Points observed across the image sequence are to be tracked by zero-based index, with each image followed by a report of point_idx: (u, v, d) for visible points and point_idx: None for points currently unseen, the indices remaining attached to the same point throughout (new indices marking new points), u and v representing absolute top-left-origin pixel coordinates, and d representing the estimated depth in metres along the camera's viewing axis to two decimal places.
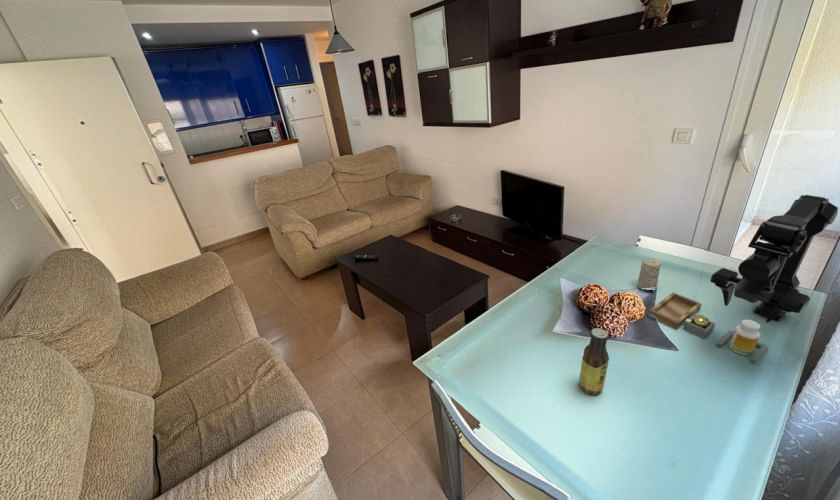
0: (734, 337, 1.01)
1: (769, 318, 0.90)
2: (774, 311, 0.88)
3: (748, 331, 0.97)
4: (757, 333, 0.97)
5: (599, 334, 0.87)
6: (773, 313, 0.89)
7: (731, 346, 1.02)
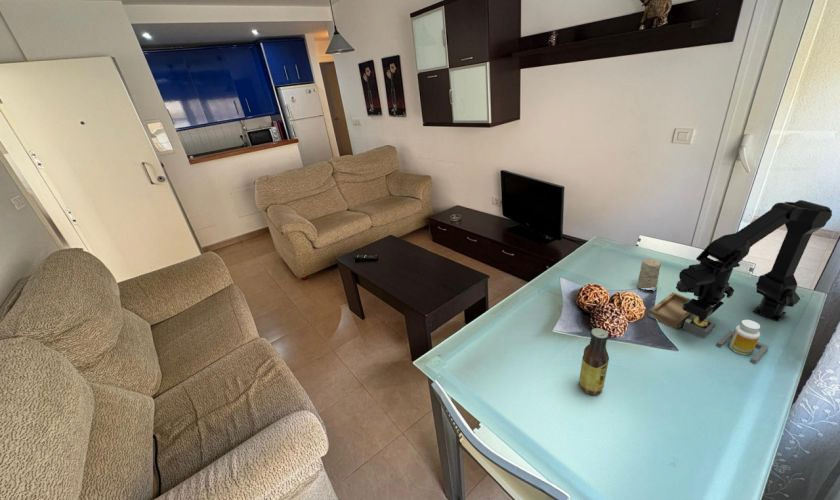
0: (734, 337, 1.01)
1: None
2: None
3: (748, 331, 0.97)
4: (757, 333, 0.97)
5: (599, 334, 0.87)
6: None
7: (731, 346, 1.02)
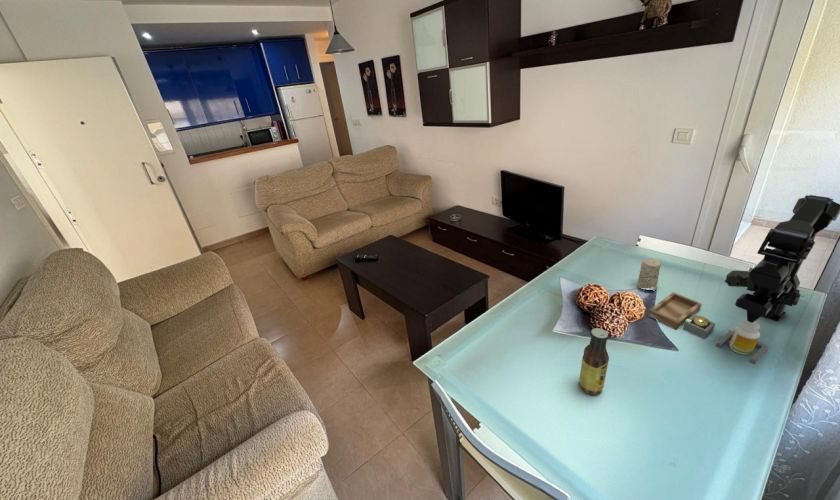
0: (734, 337, 1.01)
1: None
2: None
3: (748, 331, 0.97)
4: (757, 333, 0.97)
5: (599, 334, 0.87)
6: None
7: (731, 346, 1.02)
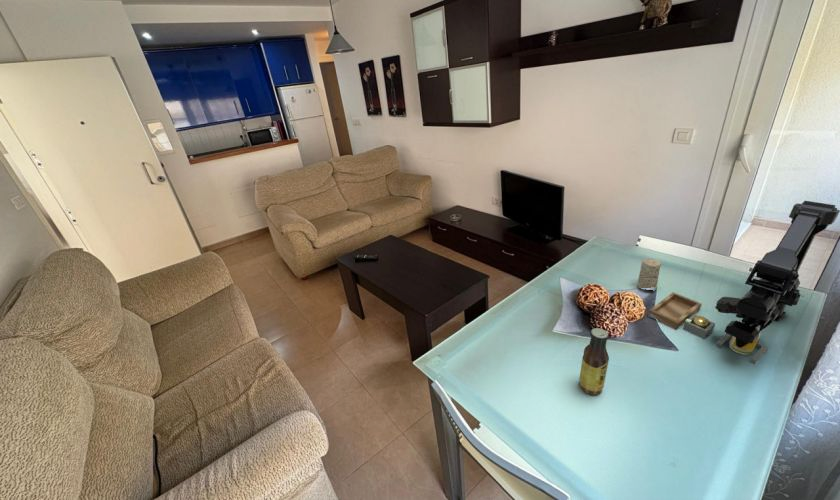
0: (734, 337, 1.01)
1: None
2: None
3: None
4: None
5: (599, 334, 0.87)
6: None
7: (731, 346, 1.02)
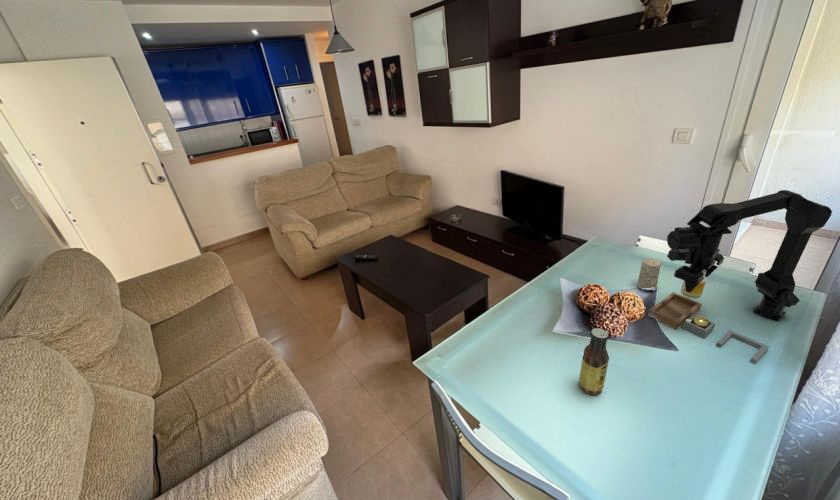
0: (684, 283, 1.09)
1: None
2: None
3: None
4: (704, 277, 1.06)
5: (599, 334, 0.87)
6: None
7: (682, 292, 1.11)
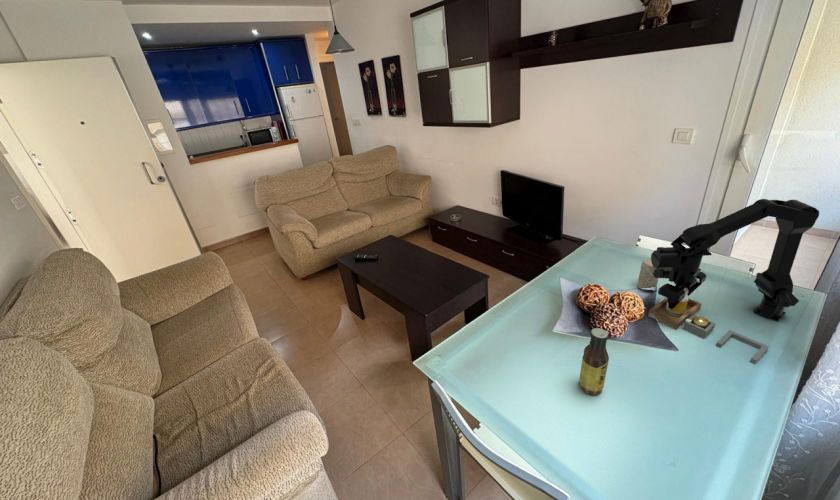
0: None
1: None
2: None
3: None
4: (686, 296, 1.13)
5: (599, 334, 0.87)
6: None
7: (666, 309, 1.18)
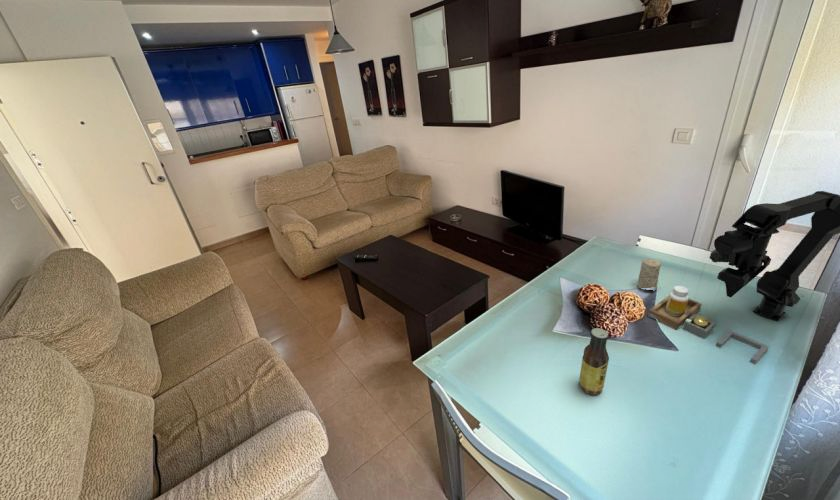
0: (668, 301, 1.17)
1: None
2: None
3: (678, 295, 1.13)
4: (686, 297, 1.13)
5: (599, 334, 0.87)
6: None
7: (666, 309, 1.18)
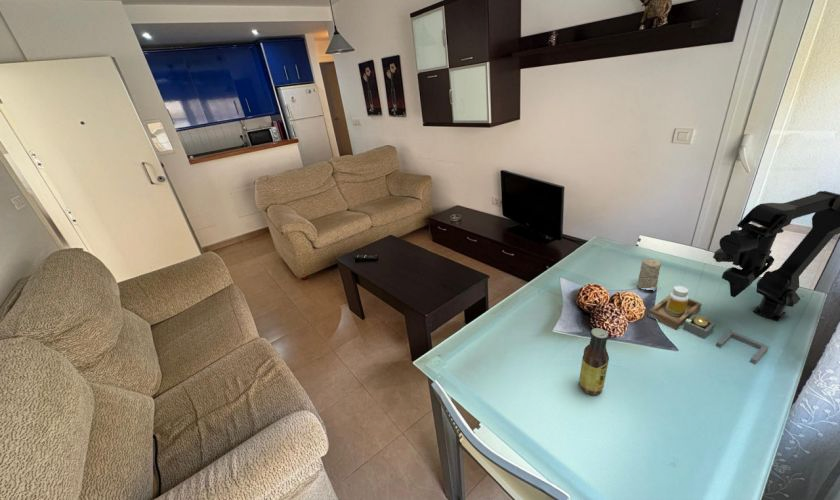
0: (668, 301, 1.17)
1: None
2: None
3: (678, 295, 1.13)
4: (686, 297, 1.13)
5: (599, 334, 0.87)
6: None
7: (666, 309, 1.18)
